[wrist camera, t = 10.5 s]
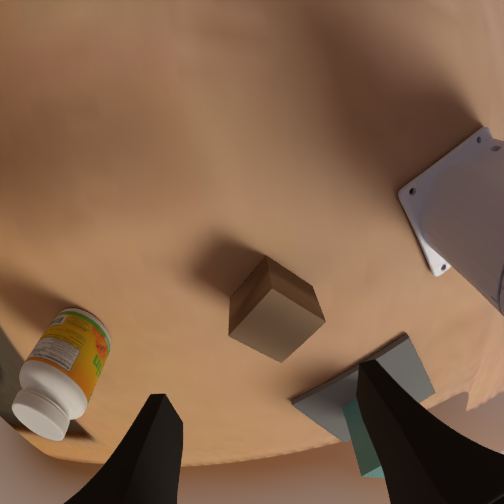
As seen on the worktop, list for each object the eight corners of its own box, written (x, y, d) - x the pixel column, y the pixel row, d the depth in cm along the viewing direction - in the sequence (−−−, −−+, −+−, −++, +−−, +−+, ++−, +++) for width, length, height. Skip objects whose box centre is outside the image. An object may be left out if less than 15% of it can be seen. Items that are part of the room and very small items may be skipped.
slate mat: (406, 333, 23) (409, 337, 23) (433, 389, 27) (435, 392, 27) (291, 400, 26) (292, 405, 25) (343, 439, 30) (344, 442, 30)
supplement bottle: (109, 364, 23) (75, 455, 15) (56, 341, 22) (11, 423, 14) (116, 321, 21) (71, 423, 13) (57, 296, 20) (-5, 382, 12)
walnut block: (266, 254, 20) (272, 288, 16) (312, 285, 21) (325, 321, 17) (229, 297, 21) (228, 335, 17) (275, 324, 22) (281, 362, 18)
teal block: (377, 381, 25) (405, 450, 17) (400, 393, 26) (427, 454, 19) (342, 407, 26) (361, 476, 19) (367, 417, 27) (388, 478, 20)
